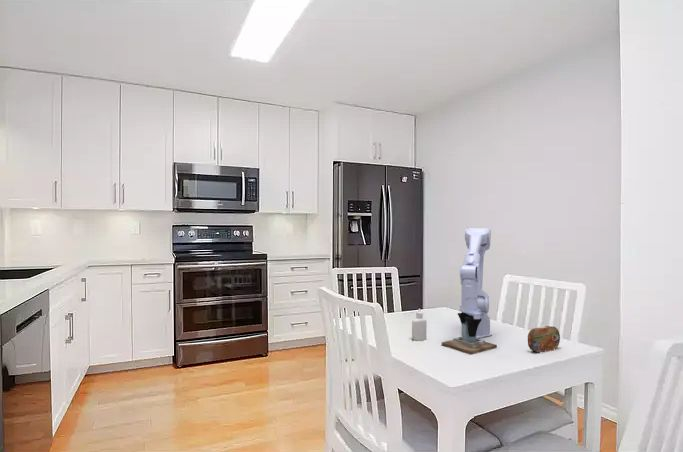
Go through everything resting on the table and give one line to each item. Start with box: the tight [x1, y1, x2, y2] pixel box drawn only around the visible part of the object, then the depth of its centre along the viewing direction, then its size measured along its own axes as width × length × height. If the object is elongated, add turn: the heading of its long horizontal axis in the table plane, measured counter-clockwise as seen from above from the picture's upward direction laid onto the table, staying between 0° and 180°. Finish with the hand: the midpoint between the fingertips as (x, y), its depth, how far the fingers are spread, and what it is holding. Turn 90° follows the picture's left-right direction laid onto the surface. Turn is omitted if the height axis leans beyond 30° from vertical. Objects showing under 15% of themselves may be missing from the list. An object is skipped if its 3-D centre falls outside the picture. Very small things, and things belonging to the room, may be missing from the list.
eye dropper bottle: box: [411, 308, 428, 342], centre depth 156 cm, size 4×6×12 cm
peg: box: [461, 322, 476, 343], centre depth 148 cm, size 4×4×8 cm
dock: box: [441, 336, 498, 355], centre depth 148 cm, size 15×13×2 cm
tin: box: [527, 325, 561, 354], centre depth 145 cm, size 15×3×8 cm, turn 117°
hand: (469, 334), depth 148 cm, fingers open, 5 cm apart
